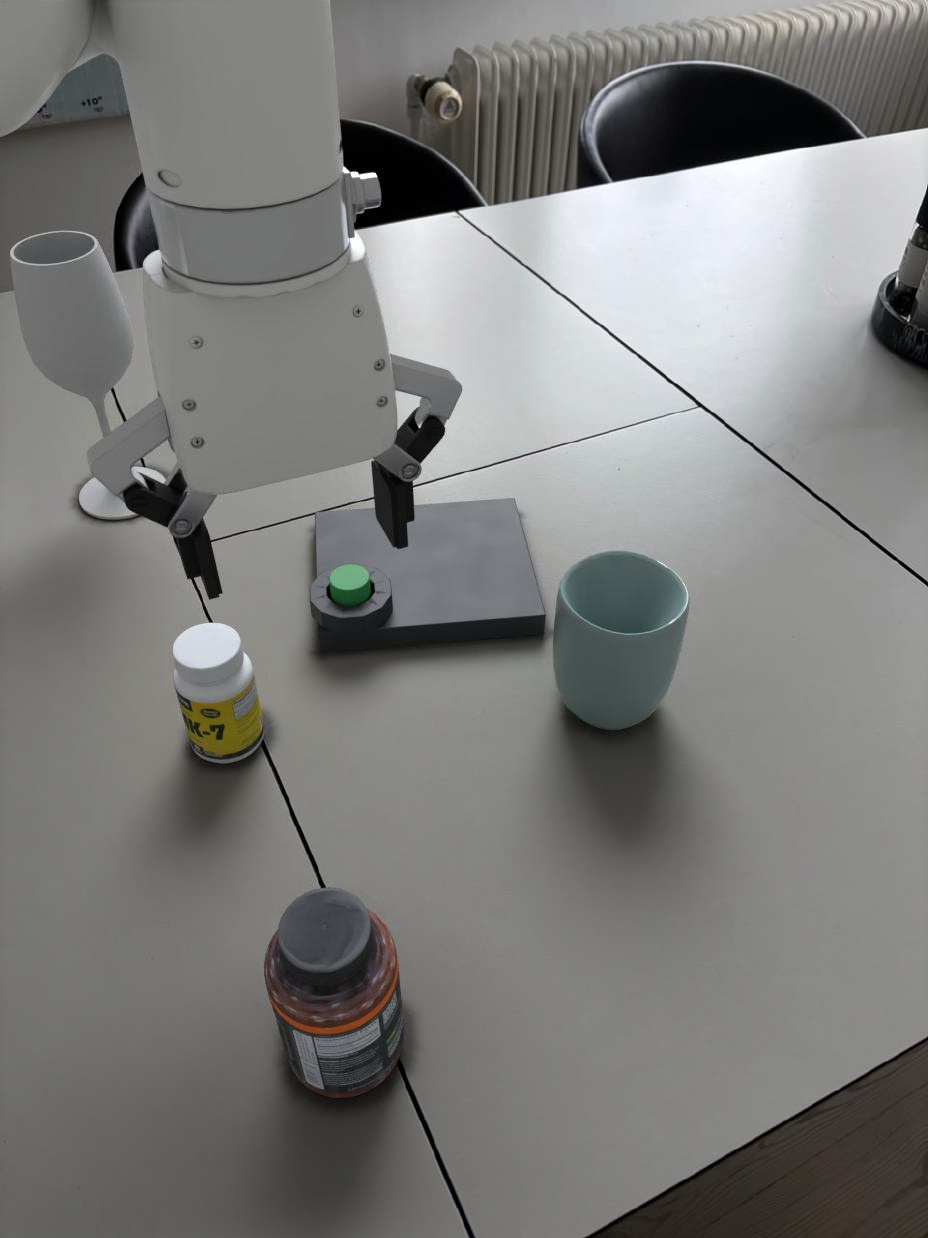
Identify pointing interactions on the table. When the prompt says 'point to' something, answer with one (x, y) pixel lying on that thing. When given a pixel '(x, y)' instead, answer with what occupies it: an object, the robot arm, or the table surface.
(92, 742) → the table surface
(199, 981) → the table surface
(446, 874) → the table surface
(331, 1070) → the supplement bottle
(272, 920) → the table surface
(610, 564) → the cup
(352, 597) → the tare button
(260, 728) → the supplement bottle
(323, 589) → the scale
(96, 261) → the wineglass
